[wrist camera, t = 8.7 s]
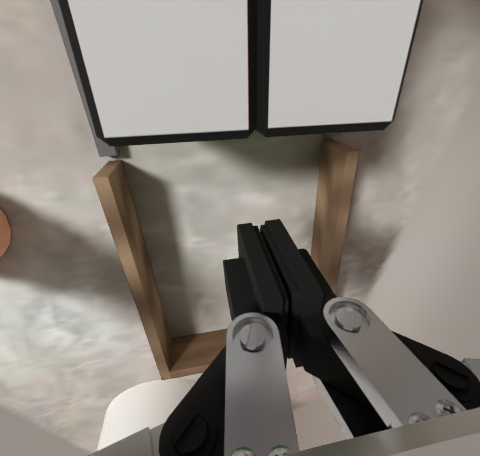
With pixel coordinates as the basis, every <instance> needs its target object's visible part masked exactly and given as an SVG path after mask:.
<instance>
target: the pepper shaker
mask: <svg viewBox="0 0 480 456" xmlns="http://www.w3.org/2000/svg"><path fill="white" fill-rule="evenodd" d="M10 240H11V228H10V226H9V223H8V221H7V218H6V215H5V214H4V213H3V211H2V210H1V209H0V257H1V256H2V255H3V254H4V253H5V251H6V250H7V248H8V246H9V244H10Z"/></svg>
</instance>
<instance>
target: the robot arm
mask: <svg viewBox="0 0 480 456" xmlns="http://www.w3.org/2000/svg"><path fill="white" fill-rule="evenodd" d="M237 234H238V251H239V258H236V259H229V260H223V266H224V276H225V284H226V291H227V297H228V302H229V308H230V314H231V319H232V322H231V324H230V325H229V327H228V330H227V335H226V345H225V347H224V348H223V349H222V350H221V352H220V353H219V354H218V355H217V357H216V358H215V359H214V360H213V362H212V363H211V364H210V365H209V367H208V368H207V369H206V370H205V372H204V373H203V374H202V375H201V377H200V378H199V379H198V380H197V382H196V383H195V384H194V385H193V387H192V388H191V389H190V390H189V392H188V393H187V394H186V395H185V397H184V398H183V399H182V400H181V402H180V403H179V404H178V405H177V407H176V408H175V409H174V410H173V412H172V413H171V414H170V415H169V417H168V419H167V420H166V422H165V423H163V424H160V425H158V426H156V427H154V428H152V429H149V427H146V428H144V429H142V430H140V431H138V432H136V433H134V434H132V435H130V436H128V437H126V438H124V439H122V440H119V441H117V442H115V443H113V444H111V445H109V446H107V447H105V448H103V449H101V450H99V451H97V452H95V453H92V454H90V455H88V456H480V359H470V358H464V359H463V360H462V362H460V361H458V360H456V359H454V358H453V357H451V356H449V355H447V354H444V353H442V352H439V351H437V350H435V349H433V348H430V347H428V346H426V345H423V344H421V343H419V342H416V341H414V340H412V339H409V338H407V337H405V336H402V335H400V334H397V333H395V332H393V331H391V330H390V329H389V328H388V327H387V326H386V325H385V324H384V323H383V322H382V321H381V320H380V319H379V318H378V317H377V316H376V315H375V313H374V312H373V311H372V310H371V309H370V308H368V307H367V306H366V305H365V304H364V303H362V302H360V301H358V300H356V299H352V298H349V297H338V298H337V297H336V295H335V294H334V292H333V291H332V289H331V287H330V286H329V284H328V283H327V281H326V280H325V278H324V277H323V275H322V273H321V272H320V270H319V269H318V267H317V266H316V264H315V262H314V261H313V259H312V258H311V256H310V255H309V253H308V252H307V250H306V249H297V247H296V245H295V244H294V242H293V240H292V239H291V237H290V235H289V234H288V232H287V230H286V228H285V227H284V225H283V223H282V222H281V220H280V219H277V220H269V221H265V225H261V227H260V231H259V229H258V226H253V225H252V223H246V224H239V225H237ZM287 358H288V359H290V358H293V360H294V363H295V366H296V367H301V366H303V367H304V370H305V371H306V372H308V373H310V374H312V376H313V379H314V382H315V384H316V386H317V388H318V390H319V391H320V393H321V395H322V397H323V398H324V400H325V402H326V404H327V406H328V407H329V409H330V411H331V413H332V415H333V416H334V418H335V420H336V422H337V424H338V425H339V427H340V429H341V431H342V432H343V434H344V436H345V438H346V440H343V441H339V442H335V443H331V444H327V445H323V446H319V447H315V448H311V449H307V450H303V451H299V447H298V441H297V435H296V429H295V423H294V418H293V412H292V406H291V400H290V394H289V388H288V382H287V376H286V363H287Z"/></svg>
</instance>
